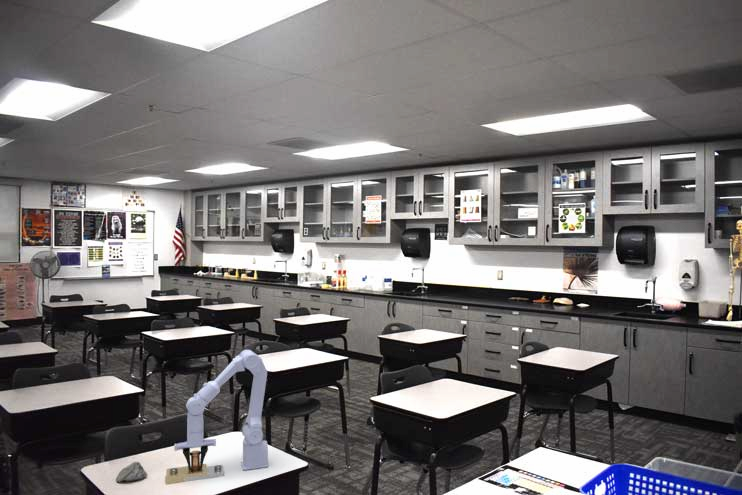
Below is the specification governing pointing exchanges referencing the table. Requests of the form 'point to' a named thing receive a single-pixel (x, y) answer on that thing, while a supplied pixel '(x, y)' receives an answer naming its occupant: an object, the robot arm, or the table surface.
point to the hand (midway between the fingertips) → (195, 467)
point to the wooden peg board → (193, 473)
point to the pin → (195, 461)
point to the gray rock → (131, 472)
